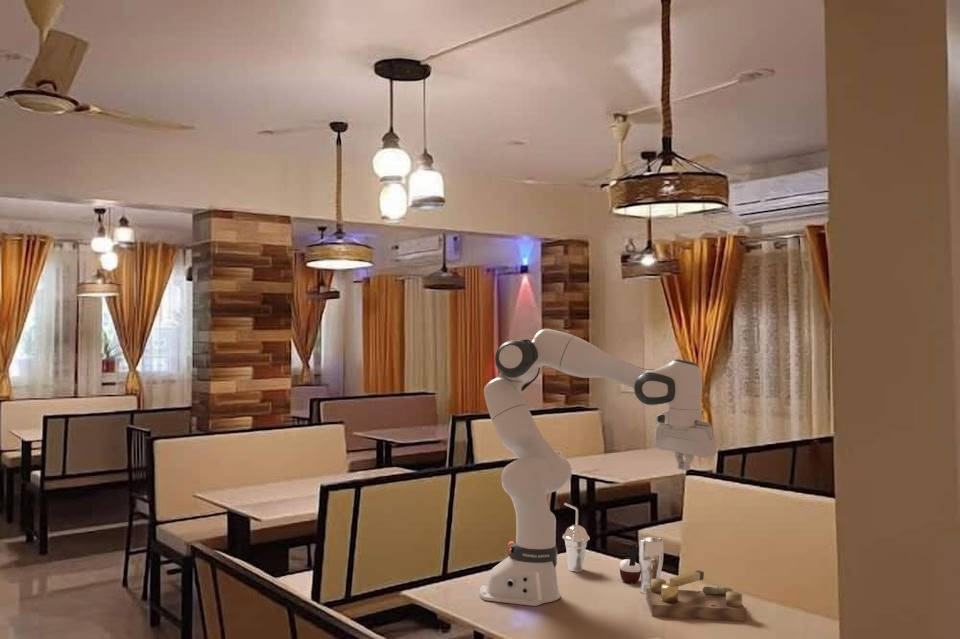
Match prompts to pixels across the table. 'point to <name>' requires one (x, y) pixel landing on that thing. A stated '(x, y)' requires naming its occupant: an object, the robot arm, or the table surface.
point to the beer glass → (650, 560)
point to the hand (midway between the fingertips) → (683, 469)
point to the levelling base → (697, 603)
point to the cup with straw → (575, 544)
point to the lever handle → (671, 590)
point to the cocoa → (630, 567)
